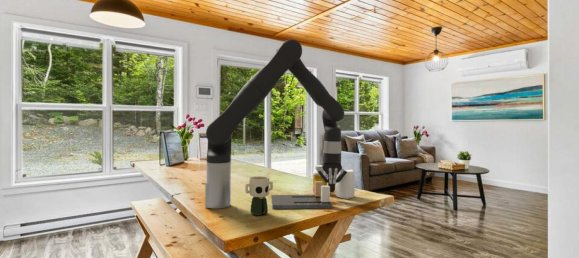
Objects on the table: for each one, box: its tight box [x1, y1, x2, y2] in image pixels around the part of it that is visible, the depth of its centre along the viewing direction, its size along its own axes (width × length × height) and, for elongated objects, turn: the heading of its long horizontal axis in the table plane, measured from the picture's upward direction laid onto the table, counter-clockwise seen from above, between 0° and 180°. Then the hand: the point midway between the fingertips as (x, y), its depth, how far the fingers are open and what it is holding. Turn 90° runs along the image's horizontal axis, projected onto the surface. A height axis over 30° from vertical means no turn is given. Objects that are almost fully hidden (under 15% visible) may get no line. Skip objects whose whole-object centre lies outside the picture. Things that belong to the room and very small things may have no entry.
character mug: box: [244, 175, 274, 216], centre depth 109 cm, size 11×7×13 cm, turn 122°
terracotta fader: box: [314, 181, 323, 196], centre depth 129 cm, size 3×2×6 cm
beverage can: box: [335, 168, 356, 200], centre depth 135 cm, size 8×8×12 cm
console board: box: [270, 194, 333, 210], centre depth 124 cm, size 23×16×2 cm
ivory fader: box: [321, 185, 331, 203], centre depth 120 cm, size 3×2×6 cm
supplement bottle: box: [312, 164, 328, 194], centre depth 142 cm, size 7×7×13 cm
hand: (331, 192), depth 130 cm, fingers closed
